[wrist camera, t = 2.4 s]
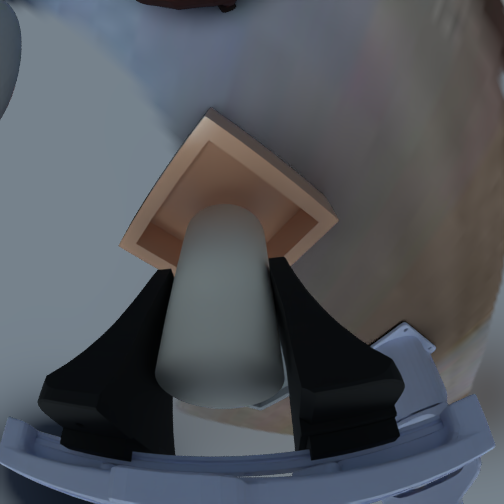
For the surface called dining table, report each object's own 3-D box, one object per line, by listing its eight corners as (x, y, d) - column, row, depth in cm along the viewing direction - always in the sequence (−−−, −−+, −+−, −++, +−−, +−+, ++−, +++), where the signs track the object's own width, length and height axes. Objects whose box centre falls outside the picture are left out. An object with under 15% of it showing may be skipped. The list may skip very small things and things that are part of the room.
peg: (281, 233, 15) (311, 373, 8) (232, 281, 17) (233, 416, 10) (215, 188, 13) (197, 325, 7) (171, 245, 15) (135, 383, 9)
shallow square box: (324, 196, 18) (339, 220, 15) (238, 281, 21) (239, 312, 19) (210, 107, 14) (204, 115, 12) (132, 219, 18) (118, 245, 16)
